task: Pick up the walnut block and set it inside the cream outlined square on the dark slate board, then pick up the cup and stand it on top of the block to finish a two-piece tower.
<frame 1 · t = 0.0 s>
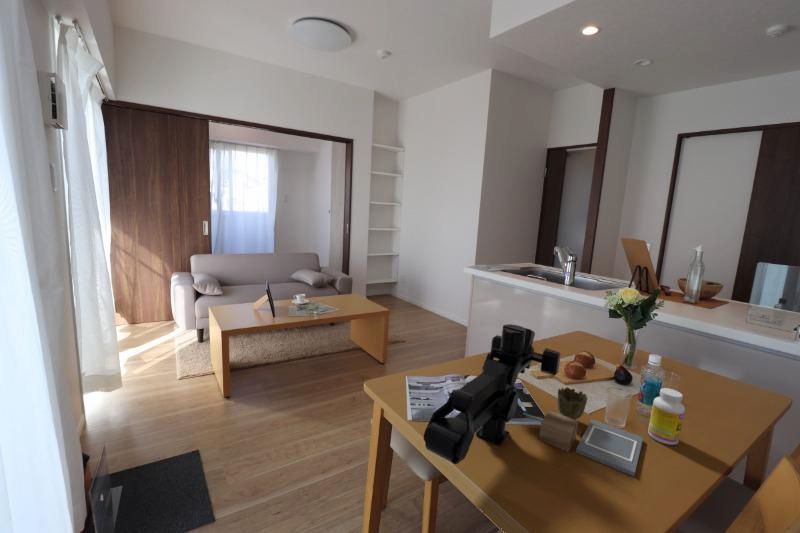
hand: (533, 346, 111), 17 cm above the table, tool horizontal, fingers open, 9 cm apart
slate board: (610, 446, 92), on the table
cup: (568, 421, 103), on the table
walnut block: (557, 439, 94), on the table
supplement bottle: (662, 438, 97), on the table
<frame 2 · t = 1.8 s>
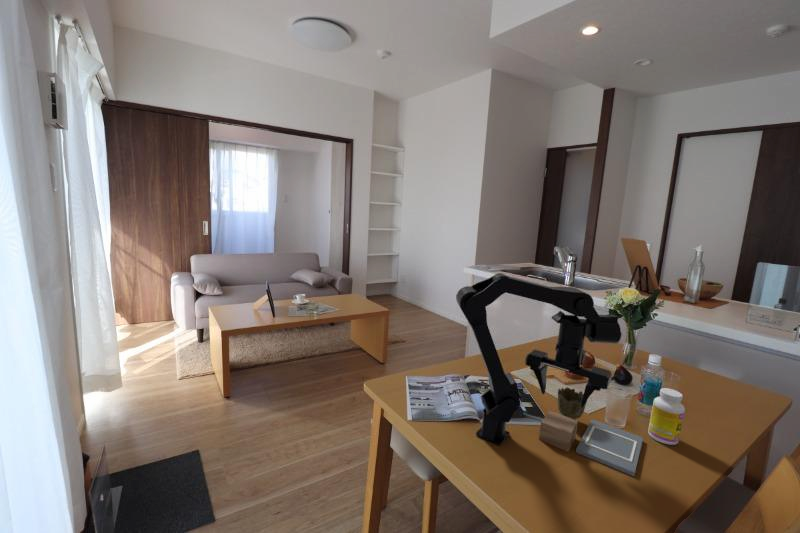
hand: (562, 400, 93), 11 cm above the table, tool pointing down, fingers open, 9 cm apart
nothing on the table moved.
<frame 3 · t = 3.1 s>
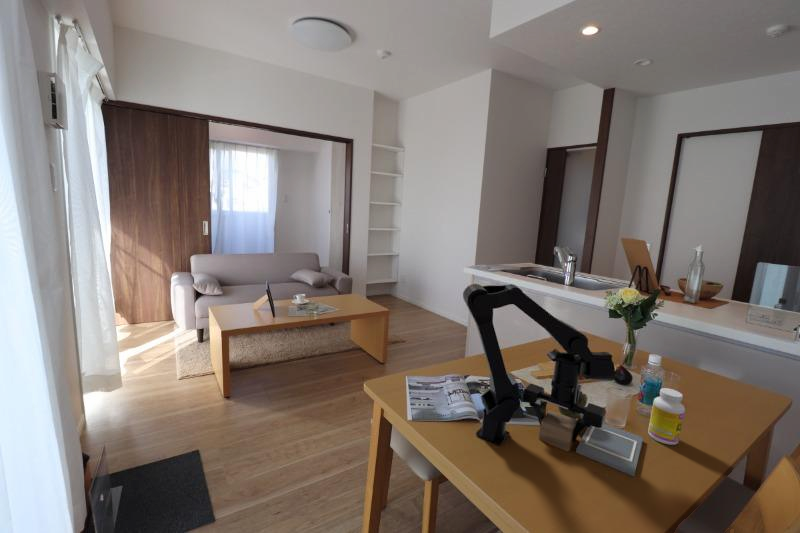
hand: (557, 435, 94), 1 cm above the table, tool pointing down, fingers closed on walnut block, 7 cm apart
walnut block: (557, 438, 94), on the table, touching gripper
everything else where it was.
when the fingers open (3 cm above the table, at t = 7.4 s): walnut block drops 1 cm, resting on slate board.
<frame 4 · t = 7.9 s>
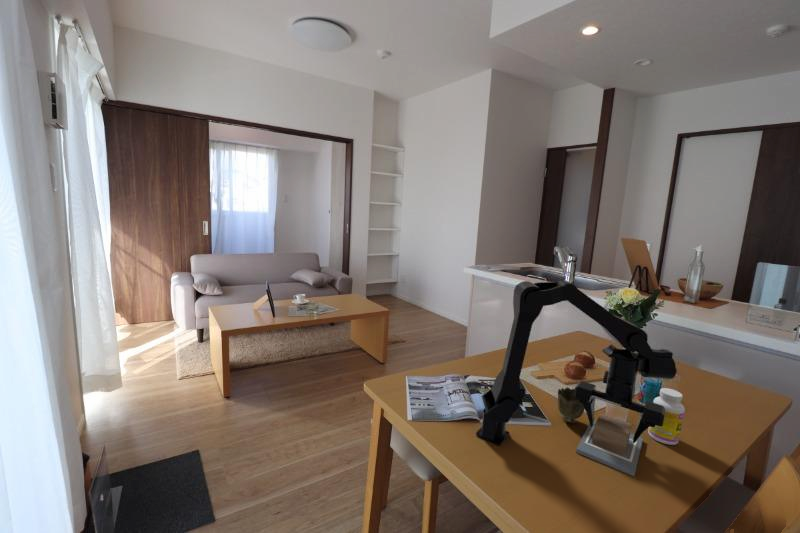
hand: (612, 433, 92), 3 cm above the table, tool pointing down, fingers open, 9 cm apart
walnut block: (610, 442, 92), point 1 cm above the table, touching slate board
everything else where it was.
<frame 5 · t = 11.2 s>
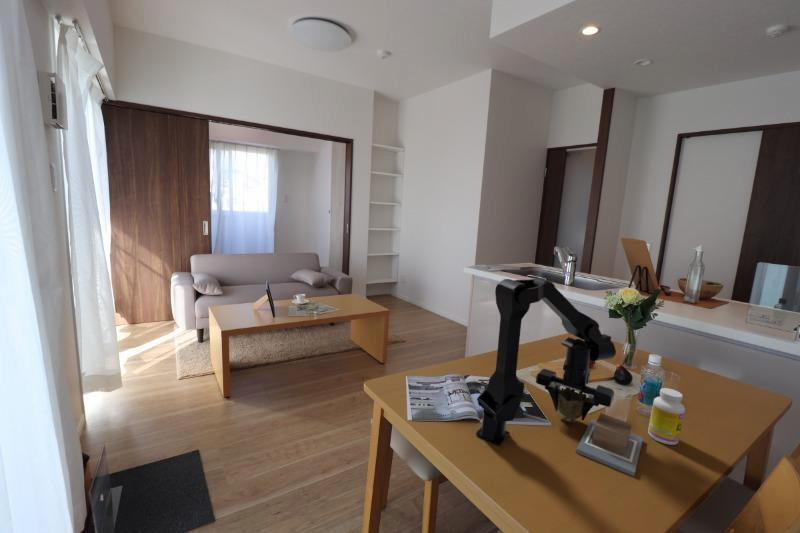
hand: (569, 415, 103), 2 cm above the table, tool pointing down, fingers closed on cup, 6 cm apart
cup: (568, 421, 103), on the table, touching gripper
everything else where it was.
when the fingers open (9 cm above the table, at t = 14.5 s): cup stays where it is, resting on walnut block.
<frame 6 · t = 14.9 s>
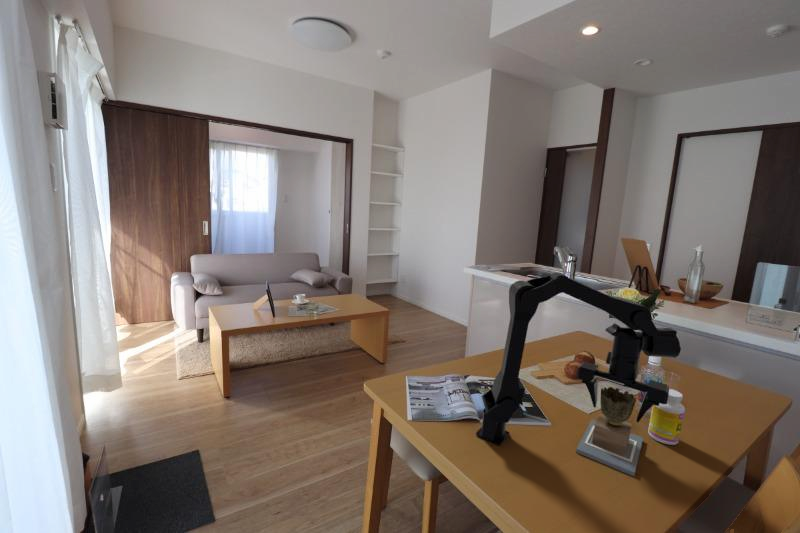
hand: (615, 413, 91), 9 cm above the table, tool pointing down, fingers open, 9 cm apart
cup: (613, 424, 91), point 6 cm above the table, touching walnut block
walnut block: (610, 442, 92), point 1 cm above the table, touching cup, slate board
everything else where it was.
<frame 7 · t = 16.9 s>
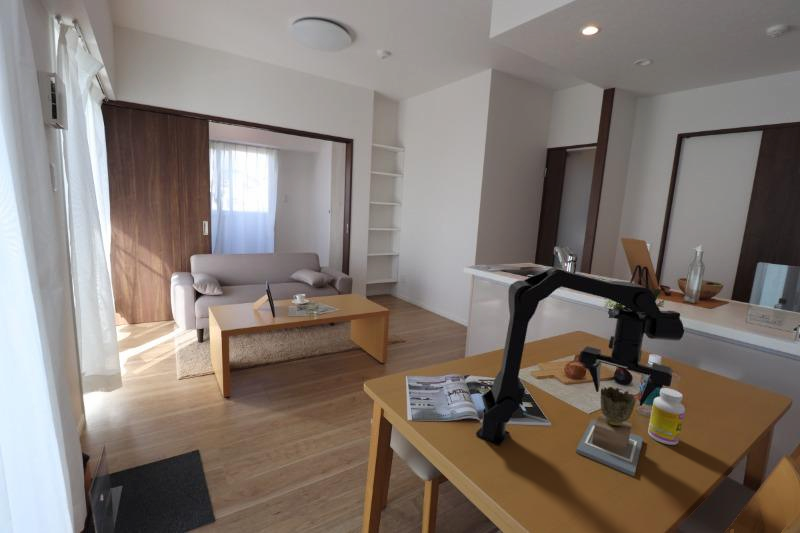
hand: (618, 398, 90), 13 cm above the table, tool pointing down, fingers open, 9 cm apart
nothing on the table moved.
at the end: walnut block 0.1 cm off-centre on the slate board, point 1.0 cm above the slate board's base; cup 0.1 cm off-centre on the walnut block, point 4.8 cm above the walnut block's base; cup tilted 0° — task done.
